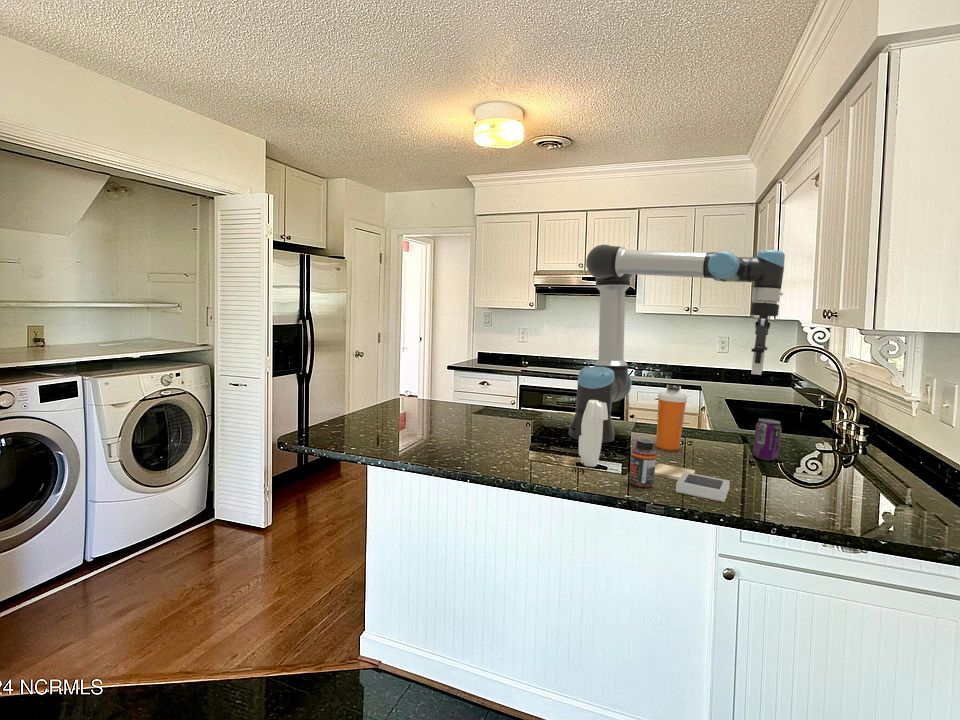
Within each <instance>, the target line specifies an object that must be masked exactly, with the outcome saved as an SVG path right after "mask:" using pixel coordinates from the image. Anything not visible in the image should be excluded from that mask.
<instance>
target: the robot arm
mask: <svg viewBox="0 0 960 720" xmlns="http://www.w3.org/2000/svg"><path fill="white" fill-rule="evenodd" d="M785 256H786V254H785V253H784V252H783V251H781V250H777V249H776V250H775V249H765V250H763V249H761V250H759V251H758V252H757V255H756V256H754V257H753V256H752V257H750V256H749V257H748V256H747V257H745V256H737V255H735V254H734V253H733V252H730V251H718V252H714V251H713V252H711V251H710V252H708V251H681V250H680V251H676V250H675V251H674V250H646V249H645V250H644V249H643V250H642V249H640V250H637V249H626V247H625V246H616V245H615V246H614V245H609V244H600V245H597V246H595V247H593V248H592V249H591V250H590V251H589V252H588V255H587V257H586V261H585V262H586V263H585V265H586V270H587V272H588V273H589V274H590V275H591V276H592V277H594V278H595V288H596V289H597V290H598V291H599V322H598V323H599V325H598V326H599V329H598V334H599V335H598V343H599V344H598V359H597V360H596V362H594V363H593V365H594V366H586V367H583V368H582V369H580V370H579V372H578V376H577V390H576V402H575V414H574V416H573V418H572V421H571V423H570V426H569V428H568V436H569V437H570V438H572V439H574V440H577V441H579V436H580V435H582V434H581V424H582V418H583V415H584V411H585V409H586V406H587V403H588V401H589V400H598V401H599V402H600V401H601V402H602V403H606V404H607V411H608V420H604V421H603V435H602V443H603V444H604V443H611V442H614V441H615V430H614V425H613V419H612V404H613V403H614V402H615V403H616V402H617V403H618V402H619V401H621V400H623V399H624V398H626V397H627V395H629V393H630V392H631V389H632V385H633V384H632V383H633V382H632V377H631V376H630V374H629V372H628V370H629V369H628V368H629V364H628V363H627V362H626V361H625V359H624V357H625V356H624V355H625V354H624V351H625V316H626V315H625V312H626V308H625V307H626V291H627V290H628V289H629V288H630V287H631V285H630V284H631V277H632V276H633V275H639V276H641V275H642V276H658V277H659V276H663V277H680V278H681V277H682V278H683V277H685V278H699V279H700V278H701V279H702V278H703V279H704V278H705V279H706V278H707V279H712V280H714V281H716V282H724V283H726V282H730V283H731V282H732V283H735V282H737V283H739V282H740V283H753V288H752V295H751V301H753V302H752V303H751V304H750V315H751V316H759V317H758V318H757V321H755V323H754V324H755V326H754V327H755V331H754V333H755V342H754V347H753V348H751V352H752V353H753V355H752V363H751V372H750V374H751V375H759V376H762V374H763V373H762V372H763V369H764V360H765V354H766V353H765V351H768V346H766V345H767V344H766V340H767V336H768V334H769V329H771V327H770V326H771V322H769V317H778V316H779V311H780V310H779V309H780V305H779V304H778V303H779V302H780V300H781V296H783V295H784V293H783V291H782V286H783V278H784V272H785V271H784V270H785V259H786V257H785Z"/></svg>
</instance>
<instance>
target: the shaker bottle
mask: <svg viewBox="0 0 960 720" xmlns="http://www.w3.org/2000/svg"><path fill="white" fill-rule="evenodd" d="M657 400H658V401H657V403H658V404H657V420H656V421H657V422H656V442H655V443H656V444H655V446H656V447H657V448H659V449H662V450H668V451H677V450H679V449H680V443H681V438H682V432H683V424H684V417H685V412H686V406H687V404H686V403H688V395H687V393H686V392H685V391H682V387H681V385H672V384H667V385H666V388H664V389H661V390H660V391H659V392H658V395H657Z"/></svg>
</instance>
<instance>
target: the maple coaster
mask: <svg viewBox="0 0 960 720" xmlns="http://www.w3.org/2000/svg"><path fill="white" fill-rule="evenodd" d="M684 472H688V473H693V474H696V470H695V469H691V468H689V469H688V468H684V467H680V466H674V465H668V464H663V463H657V464H655V472H654V477H655V476H656V477H661V478H665V479H670V480H676V481H678V480H679V478H680V477H681V476H682V474H683V473H684Z"/></svg>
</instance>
